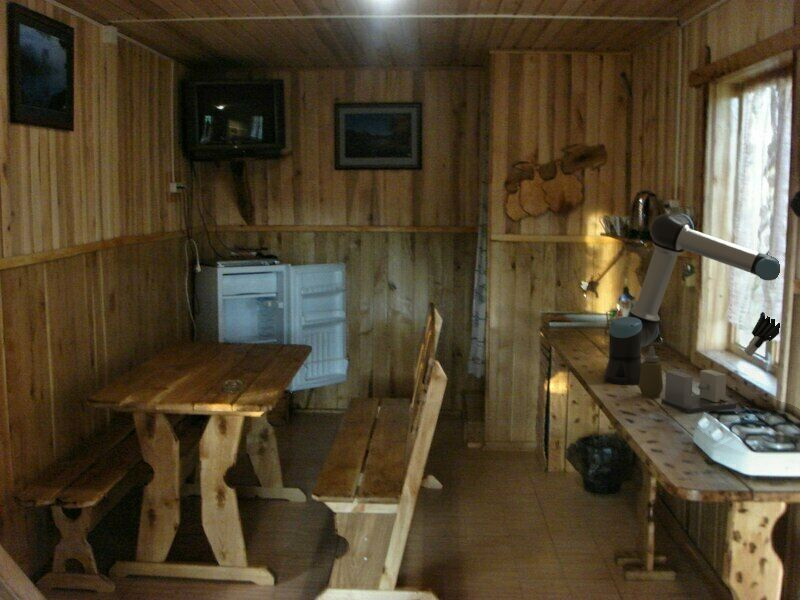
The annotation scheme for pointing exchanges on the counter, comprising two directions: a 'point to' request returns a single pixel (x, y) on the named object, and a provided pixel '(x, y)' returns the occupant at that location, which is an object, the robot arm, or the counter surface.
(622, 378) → the robot arm
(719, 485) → the counter surface
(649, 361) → the squeeze bottle
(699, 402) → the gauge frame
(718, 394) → the block
